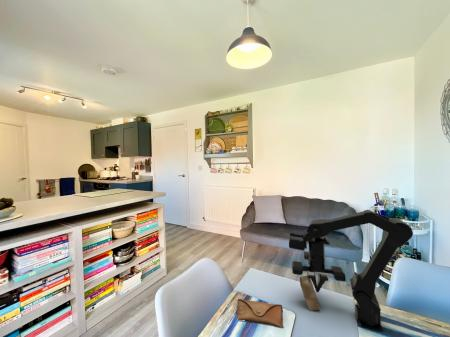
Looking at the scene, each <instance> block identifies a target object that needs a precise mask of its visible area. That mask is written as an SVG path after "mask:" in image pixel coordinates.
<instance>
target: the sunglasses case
mask: <svg viewBox="0 0 450 337" xmlns="http://www.w3.org/2000/svg"><path fill="white" fill-rule="evenodd" d="M283 313H284V311H283V305H282V304H279V303H278V304H277V303H276V304H275V303H269V302H263V301H255V300H247V299H242V298H238V299H237V306H236V314H237V317H238V320H245V321H244V322H246V321H250V322H249V323H253V322H254V323H255V324H259V325H260V324H261V325H266V326H272V327H276V328H281V329H284V328H285V327H284V322H283V321H284V318H283V316H284V314H283ZM254 323H253V324H254Z"/></svg>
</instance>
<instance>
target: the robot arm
mask: <svg viewBox="0 0 450 337" xmlns="http://www.w3.org/2000/svg"><path fill="white" fill-rule="evenodd" d="M367 224H371V225H373V226H375V227H377V228H378V229H380V230H382V232H381V234H382V235H381V240H380V242H379V243H378V245H377V247H376V248H375V250H374V252H373V253H372V254H371V257H370V259H369V260H368V262H367V264H366V265H365V267H364V269H363V271H361V272H360V273H357V272H356V271H354V272H353V274H352V275H353V276H352V277H351V278H350V279H349V281H350V289H351V294H352V297H353V299H354V300H355V301H356V304H354V311H355V312H354V315H355V317H356V319H357V322H358V323H359V325H360V326H361V327H363V328H367V329H371V330H376V331H381V332H383V331H384V327H383V325H382V322H381V318H382V317H381V315H382V314H381V311H382V309H381V307H380V304H379V301H378V298H377V295H376V294H375V291H376V286H377V282H378V280H379V278H381V276H382V273H384V271H385V269H386V268H387V265H388V264H389V262H390V261H391V260H392V257H393V256H394V255H395V252H396V251H397V250H398V249H400V248H401V247H403V246H404V245H406V244H407V243H408V242H409V241H410V240H411V239H412V238H413V235H414V231H413V229H412V227H411V226H410V225H409V224H407V223H406V222H404V221H403V220H402V219H401V218H394V217H392V218H390V217H388V216H385V215H382V214H380V213H378V212H374V211H372V210H370V209H365V210H363V211H359V212H354V213H351V214H348V215H343V216H339V217H335V218H331V219H325V218H324V219H323V218H322V219H312V220H311V221H310V222H309V224H308V227H307V229H306V230H305V231H304V233H299V232H294V231H290V233H289V241H288V247H289V248H288V249H292V250H295V251H296V250H297V251H301V252H303V259H304V260H306V261H307V262H308V263H307V264H308V265H303V262H302V261H295V260H293V261H292V262H291V270H292V274H293V275H297V276H303V273H304V272H306V276H308V278H310V279H311V282H312V285H313V288H314V290H315V293H320V291H321V289H322V286H323V285H324V284H325V282H328V281H329V278H328V276H333V278H334V280H335V281H338V282H339V281H340V282H346V274H345V271H344V270H343V268H342V267H341V266H335V265H330V268H327V267H326V266H325V265H326V263H325V262H326V261H325V259H326V257H325V254H326V253H325V248H326V247H325V245H327V246H329V245H330V242H331V241H330V239H328V238H327V236H328V235H330V234H331V233H333V232H335V231H339V230H344V229H348V228H353V227H357V226H363V225H367ZM306 249H308V251H306ZM316 274H317V276H316Z"/></svg>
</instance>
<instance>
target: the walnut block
mask: <svg viewBox="0 0 450 337" xmlns="http://www.w3.org/2000/svg"><path fill="white" fill-rule="evenodd" d="M299 286H300V288H301V291H302V293H303V297H304V299H305V302H306V304H307V305H306V306H307V308H308V311H310V312H311V311H319V310H321V308H320V303H319V299H318V296H317V292H316V290H315V287H314V284H313V282H312V280H311V279H310V278H308V276H307V275H301V276H299Z"/></svg>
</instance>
